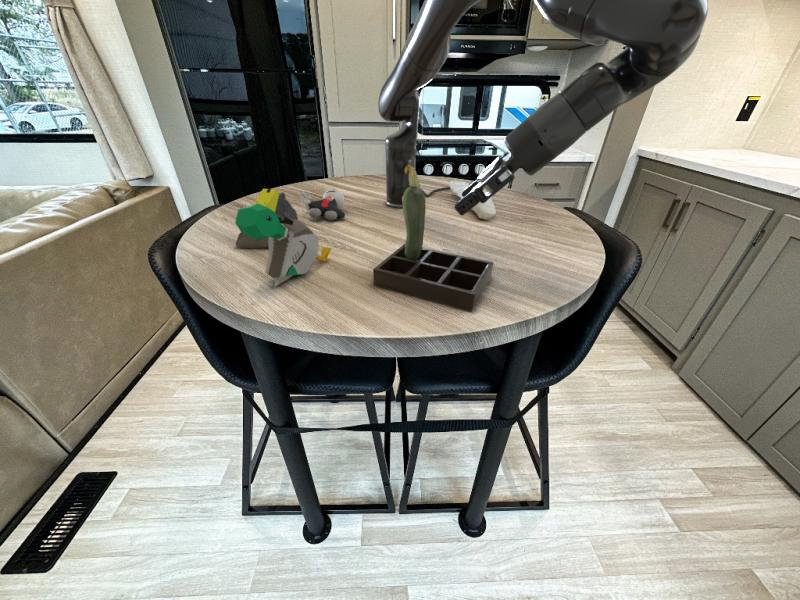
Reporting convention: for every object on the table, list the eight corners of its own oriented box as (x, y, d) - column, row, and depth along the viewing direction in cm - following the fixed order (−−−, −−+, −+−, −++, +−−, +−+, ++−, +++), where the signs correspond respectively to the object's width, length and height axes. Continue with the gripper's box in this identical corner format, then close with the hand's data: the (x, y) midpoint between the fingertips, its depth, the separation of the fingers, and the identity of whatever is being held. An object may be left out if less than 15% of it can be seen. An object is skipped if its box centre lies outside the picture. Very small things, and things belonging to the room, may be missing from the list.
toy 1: (336, 223, 71) (269, 180, 53) (320, 297, 70) (246, 279, 52) (313, 221, 74) (242, 180, 56) (297, 292, 73) (219, 274, 55)
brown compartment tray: (403, 258, 73) (404, 243, 71) (490, 277, 65) (493, 262, 64) (373, 285, 63) (372, 269, 61) (472, 311, 55) (474, 294, 54)
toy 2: (286, 202, 89) (304, 182, 101) (291, 224, 93) (307, 203, 105) (341, 206, 88) (352, 186, 100) (343, 228, 93) (354, 206, 104)
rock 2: (446, 193, 118) (461, 219, 92) (449, 178, 115) (465, 200, 89) (484, 198, 119) (509, 224, 93) (488, 183, 116) (515, 206, 90)
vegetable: (425, 262, 69) (431, 163, 58) (418, 271, 66) (422, 168, 55) (407, 259, 71) (408, 161, 60) (398, 267, 68) (398, 166, 57)
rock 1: (218, 223, 73) (277, 203, 71) (236, 206, 82) (289, 187, 79) (247, 264, 79) (301, 246, 77) (261, 244, 88) (310, 227, 86)
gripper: (528, 113, 54) (454, 179, 63) (530, 119, 43) (440, 198, 52) (553, 149, 56) (477, 208, 65) (562, 164, 45) (469, 233, 54)
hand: (461, 204), depth 59 cm, fingers open, 8 cm apart
